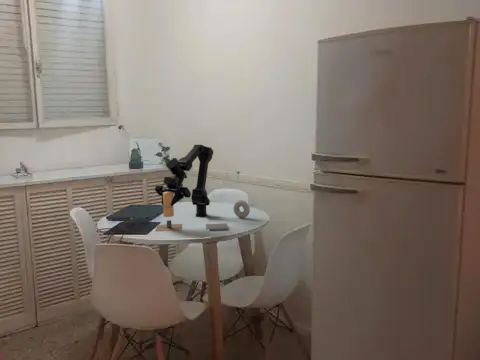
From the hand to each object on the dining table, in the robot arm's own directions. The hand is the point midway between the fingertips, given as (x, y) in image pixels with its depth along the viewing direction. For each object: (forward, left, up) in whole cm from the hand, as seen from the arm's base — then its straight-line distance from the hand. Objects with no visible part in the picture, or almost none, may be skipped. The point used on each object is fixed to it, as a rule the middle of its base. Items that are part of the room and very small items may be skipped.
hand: (166, 205), depth 248 cm
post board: (-1, +1, -13) cm, 13 cm away
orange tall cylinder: (-1, +1, -6) cm, 6 cm away
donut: (-21, +40, -13) cm, 47 cm away
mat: (0, +25, -13) cm, 28 cm away
